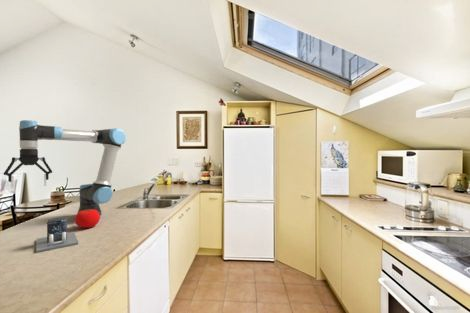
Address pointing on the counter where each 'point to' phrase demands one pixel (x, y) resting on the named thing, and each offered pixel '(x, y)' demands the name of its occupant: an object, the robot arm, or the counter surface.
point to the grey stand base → (56, 242)
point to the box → (56, 228)
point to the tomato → (87, 218)
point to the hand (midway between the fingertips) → (29, 186)
